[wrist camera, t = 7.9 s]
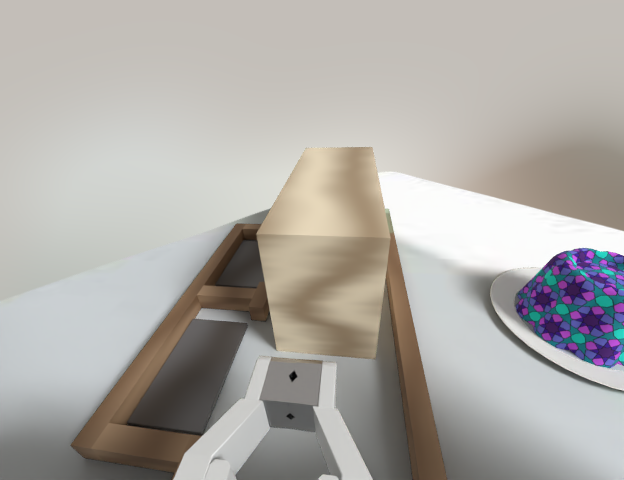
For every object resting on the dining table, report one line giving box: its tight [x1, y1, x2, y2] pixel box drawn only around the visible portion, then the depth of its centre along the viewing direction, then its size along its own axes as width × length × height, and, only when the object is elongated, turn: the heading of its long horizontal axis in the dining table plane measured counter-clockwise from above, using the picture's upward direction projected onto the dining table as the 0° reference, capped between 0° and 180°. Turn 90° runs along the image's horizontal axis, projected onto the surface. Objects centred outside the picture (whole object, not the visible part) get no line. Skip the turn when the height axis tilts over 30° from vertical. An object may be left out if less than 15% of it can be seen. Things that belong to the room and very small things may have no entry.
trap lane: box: [70, 209, 447, 480], centre depth 24 cm, size 18×32×2 cm, turn 172°
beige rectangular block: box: [256, 147, 390, 359], centre depth 25 cm, size 7×18×10 cm, turn 173°
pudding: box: [490, 248, 624, 391], centre depth 20 cm, size 12×12×5 cm
